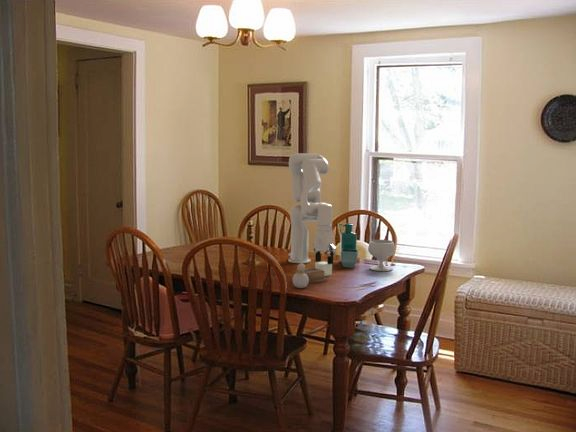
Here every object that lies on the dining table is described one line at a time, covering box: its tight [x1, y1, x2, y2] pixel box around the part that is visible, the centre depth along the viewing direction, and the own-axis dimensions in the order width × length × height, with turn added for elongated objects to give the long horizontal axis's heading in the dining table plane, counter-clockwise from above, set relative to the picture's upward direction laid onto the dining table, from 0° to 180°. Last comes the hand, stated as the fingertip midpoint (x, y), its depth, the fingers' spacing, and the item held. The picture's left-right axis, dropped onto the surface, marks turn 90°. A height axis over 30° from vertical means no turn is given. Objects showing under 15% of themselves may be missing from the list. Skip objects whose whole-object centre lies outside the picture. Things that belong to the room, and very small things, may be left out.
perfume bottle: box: [291, 262, 309, 289], centre depth 280 cm, size 8×10×12 cm
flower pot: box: [340, 249, 359, 268], centre depth 330 cm, size 9×9×9 cm
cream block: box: [314, 260, 333, 277], centre depth 310 cm, size 6×6×6 cm
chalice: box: [367, 239, 396, 272], centre depth 324 cm, size 14×14×15 cm
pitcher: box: [338, 222, 358, 264], centre depth 342 cm, size 10×8×22 cm
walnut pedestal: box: [291, 266, 328, 285], centre depth 297 cm, size 12×12×5 cm
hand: (324, 262), depth 309 cm, fingers open, 9 cm apart
